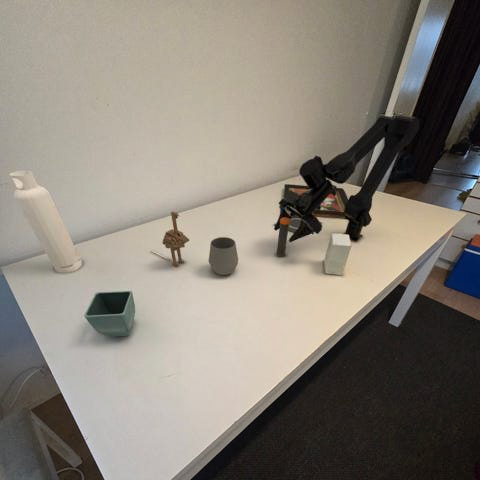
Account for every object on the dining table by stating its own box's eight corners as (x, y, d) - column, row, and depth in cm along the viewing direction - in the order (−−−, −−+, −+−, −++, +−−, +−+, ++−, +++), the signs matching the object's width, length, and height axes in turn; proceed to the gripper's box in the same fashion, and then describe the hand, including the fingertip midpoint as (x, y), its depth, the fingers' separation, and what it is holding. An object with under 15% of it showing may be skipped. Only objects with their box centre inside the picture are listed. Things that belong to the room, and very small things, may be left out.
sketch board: (294, 214, 120) (294, 213, 120) (321, 223, 113) (321, 222, 113) (273, 225, 111) (273, 224, 111) (302, 235, 105) (302, 234, 104)
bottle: (87, 262, 89) (45, 170, 69) (69, 274, 83) (18, 179, 64) (68, 257, 91) (22, 167, 71) (49, 270, 85) (-6, 175, 66)
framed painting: (362, 219, 117) (365, 212, 115) (284, 217, 116) (285, 210, 114) (340, 190, 144) (341, 184, 142) (276, 189, 144) (277, 183, 142)
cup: (216, 281, 82) (214, 253, 75) (205, 267, 88) (202, 239, 81) (243, 274, 85) (243, 246, 78) (230, 260, 91) (230, 233, 84)
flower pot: (107, 318, 70) (95, 291, 63) (141, 316, 70) (132, 290, 64) (98, 343, 63) (82, 316, 57) (135, 341, 64) (124, 314, 58)
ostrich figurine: (193, 263, 89) (186, 210, 77) (178, 272, 85) (169, 217, 73) (159, 248, 96) (148, 197, 84) (145, 255, 92) (130, 203, 80)
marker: (279, 251, 96) (283, 216, 87) (286, 254, 94) (292, 219, 85) (274, 255, 94) (278, 219, 85) (281, 258, 92) (286, 222, 83)
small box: (341, 275, 85) (352, 246, 78) (324, 273, 86) (332, 244, 79) (340, 262, 91) (349, 234, 84) (323, 260, 92) (331, 232, 84)
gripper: (287, 171, 85) (255, 211, 89) (323, 190, 73) (284, 234, 77) (302, 194, 93) (272, 229, 97) (337, 213, 81) (301, 253, 85)
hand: (281, 235), depth 89 cm, fingers open, 9 cm apart
